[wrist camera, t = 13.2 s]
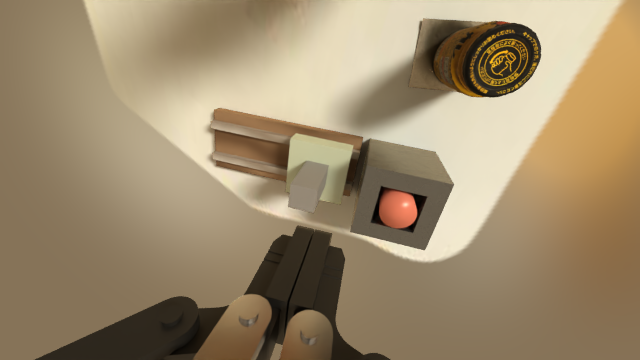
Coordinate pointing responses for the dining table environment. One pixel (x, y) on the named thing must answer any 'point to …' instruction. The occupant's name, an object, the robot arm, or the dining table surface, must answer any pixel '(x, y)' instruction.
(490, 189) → the dining table surface
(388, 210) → the plunger
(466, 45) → the condiment
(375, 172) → the cabinet
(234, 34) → the dining table surface
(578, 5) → the dining table surface
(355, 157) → the rail track
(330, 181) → the carriage
